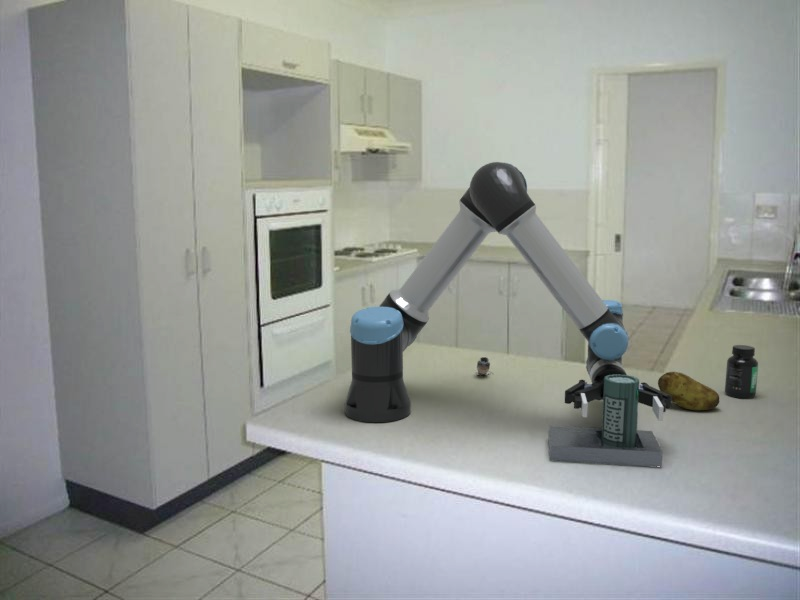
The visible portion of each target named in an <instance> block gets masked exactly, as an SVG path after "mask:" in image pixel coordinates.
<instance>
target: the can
mask: <svg viewBox="0 0 800 600" xmlns="http://www.w3.org/2000/svg"><path fill="white" fill-rule="evenodd" d="M639 386H640V379H639V378H638V377H636V376H632V375H620V374H618V375H617V374H616V375H614V374H613V375H608V376H605V377H604V395H603V400H602V419H601V420H602V422H601V428H602V440H601V445H600V446H616V447H634V448H637V447H636V436H637V430H638V418H639V417H638V416H639V415H638V414H639V403H638V398H639Z"/></svg>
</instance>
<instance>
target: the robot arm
mask: <svg viewBox="0 0 800 600" xmlns="http://www.w3.org/2000/svg"><path fill="white" fill-rule="evenodd" d="M458 201H459V211H458V212H457V214H456V215H455V217H454V218H453V219H452V221H450V223H449V224H448V226H447V227H446V229H444V231H443V232H442V234H441V235H440V236H439V237H438V239H437V240H436V242H435V243H433V245H432V247H430V249H429V250H428V252H427V253H426V254H425V256H424V257H423V258H422V260H421V261H420V262H419V264H418V265H417V267H416V268H414V271H412V273H410V275H409V277H408V278H407V279H406V281H405V282H404V284H402V286H401V287H400V288H398V289H392V290H390V292H389V293H388V294H387V295H386V297H385V298H384V299H383V301H382V302H381V303H380V304H379V306H371V307H366V308H362V309H359V310H358V311H356V312H355V313H353V315H352V317H351V320H350V326H349V327H350V330H349V333H350V350H351V380H350V381H351V382H350V385H349V388H348V391H347V395H346V397H345V398H346V399H345V402H344V414H345V415H346V416H347V417H348V418H350V419H352V420H355V421H358V422H364V423H388V422H394V421H399V420H401V419H404V418H406V417H408V416H409V415H410V414H411V412H412V404H411V403H412V402H411V399H410V396H409V393H408V390H407V387H406V384H405V381H404V354H403V353H404V352H405V351H406V350H407V348H408V347H410V346H411V345H412V344H413V343H414V342H415V340H416V339H417V337H418V335H419V334H420V332H421V331H422V330H423V329H424V327H425V326H426V324H427V323H428V322H429V320H430V316H429V315H430V314H429V310H431V308H432V307H433V306H434V304H435V303H436V301H437V300H439V298H440V297H441V295H442V294H443V293H444V292H445V290H446V289H447V288H448V286H449V285H450V284H451V283H452V281H453V280H454V279H455V278H456V276H457V275H458V274H459V272H460V271H462V268H464V266H465V265H466V263H467V262H468V261H469V259H470V258H471V257H472V256H473V255H474V253H475V252H476V251H477V249H478V248H479V247H480V245H481V244H482V243H483V242H484V240H485V239H486V238H487V237H488V236H489V235H490V234H491V233H495V232H497V233H498V234H499V235H503V236H506V237H507V238H508V240H509V241H510V242H511V244H513V246H514V247H515V248H516V250H517V251H518V252H519V253H520V255H521V256H522V258H523V259H524V260H525V262H526V263H527V264H528V265H529V267H530V268H531V269H532V270H533V272H534V273H535V274H536V276H537V277H538V278H539V279H540V281H541V282H542V283H543V285H544V286H545V287H546V289H547V291H548V292H549V293H550V294H551V295H552V297H553V298H554V299H555V301H556V302H557V303H558V304H559V306H560V307H561V308H562V309H563V311H564V312H565V313H566V314H567V316H568V317H569V318H570V321H572V322H573V324H574V325H575V326H576V328H577V329H578V330H579V332H580V333H581V334H582V336H583V337H584V338H585V340H586V342H587V343H588V344H587V357H586V362H585V364H586V367H585V368H586V372H587V374H588V376H589V378H590V381H591V382H590V383H588V382H587V381H586V380H584V379H579V380H578V383H576V384H574V385H572V386H570V387H569V388H567V389H566V390H565V391H564V403H565V404H567V405H568V404H569V405H570V404H572V403H573V409H576V410H579V409H580V411H581V415H582V418H588V404H589V403H590V402H592V401H595V400H597V401H603V395H604V377H605V376H608V375H613V374H614V375H616V374H617V375H618V374H620V375H627V373H626V370H625V368H624V367H623V362H622V361H623V355H624V354H625V353H626V352H627V350H628V346H629V336H628V335H629V334H628V332H627V331H626V329H625V326H624V324H623V317H624V313H623V304H622V303H621V302H620V301H618V300H614V299H602V298H601V296H599V294H598V293H597V292H596V290H595V288H594V287H593V286H592V285H591V283H590V282H589V281H588V280H587V278H586V277H585V276H584V274H583V273H582V272H581V271H580V269H579V268H578V267H577V265H576V264H575V263H574V262H573V260H572V258H571V257H570V256H569V255H568V254H567V252H566V251H565V250H564V248H563V247H562V246H561V244H560V243H559V241H558V240H557V239H556V238H555V236H554V235H553V234H552V233H551V231H550V230H549V229H548V227H547V226H546V225H545V223H544V222H543V221H542V220H541V218H540V217H539V216H538V214H537V213H536V212H537V211H536V209H537V205H536V203H534V201H533V199H532V198H531V197H530V195H529V193H528V184H527V180H526V178H525V176H524V174H523V173H522V171H520V169H518V167H516V166H514V165H513V164H511V163H508V162H501V161H493V162H488V163H486V164H484V165H482V166H481V167H479V168H478V169H477V170H476V171H475V173H474V174H473V175H472V178H471V181H470V184H469V187H468V188H467V190H466V191H465V192H464V194H463V195H462V197H461V198H460V199H459V200H458ZM638 404H642V405H645V406H648V407H650V408H652V412H653V413H654V415H655V417H656V419H657V421H658V422H664V413H666V411H667V410H670V409H672V396H671V395H669V394H667V393H664V392H662V391H660V389H659V388H655V387H653V386H651V385H650V384H648V383H647V382H643V381H642V382H641V383H639V398H638ZM666 409H667V410H666Z"/></svg>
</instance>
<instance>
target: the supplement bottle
mask: <svg viewBox="0 0 800 600" xmlns="http://www.w3.org/2000/svg"><path fill="white" fill-rule="evenodd" d="M755 351H756V348H755V347H753V346H750V345H746V344H737V345H736V344H734V345H733V346H732V351H731V354H732V355H731V356H729V357H728V358H727V360H726V371H725V372H726V373H725V382H724V383H725V384H724V393H725V394H726V395H727V396H729V397H731V398H736V399H743V400H749V399H750V400H751V399H753V398H755V397H756V393H757V386H758V385H757V383H758V375H759V374H758V372H759V371H758V370H759V362H758V360H757V359H756V358H755V355H756V353H755Z"/></svg>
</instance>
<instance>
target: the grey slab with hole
mask: <svg viewBox="0 0 800 600" xmlns="http://www.w3.org/2000/svg"><path fill="white" fill-rule="evenodd" d="M601 440H602V427H587V426H586V427H580V426H567V425H564V426H563V425H561V426H560V425H548V447H549V459H550V461H551V462H562V461H566V462H565V463H579V464H581V463H583V464H595V463H597V465H611V464H613V465H615V466H628V465H631V466H632V467H644V466H656V467H655V468H658V467H657V466H660V467H663V463H662V462H663V454H664V453H663V450H662V448H661V446H660V444H659V442H658V439H656V436H655V434H654V432H653V431H652V430H644V429H642V430H641V429H640V430H639V429H637V436H636V448H634V447H616V446H601ZM631 466H630V467H631ZM660 467H659V468H660Z"/></svg>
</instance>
